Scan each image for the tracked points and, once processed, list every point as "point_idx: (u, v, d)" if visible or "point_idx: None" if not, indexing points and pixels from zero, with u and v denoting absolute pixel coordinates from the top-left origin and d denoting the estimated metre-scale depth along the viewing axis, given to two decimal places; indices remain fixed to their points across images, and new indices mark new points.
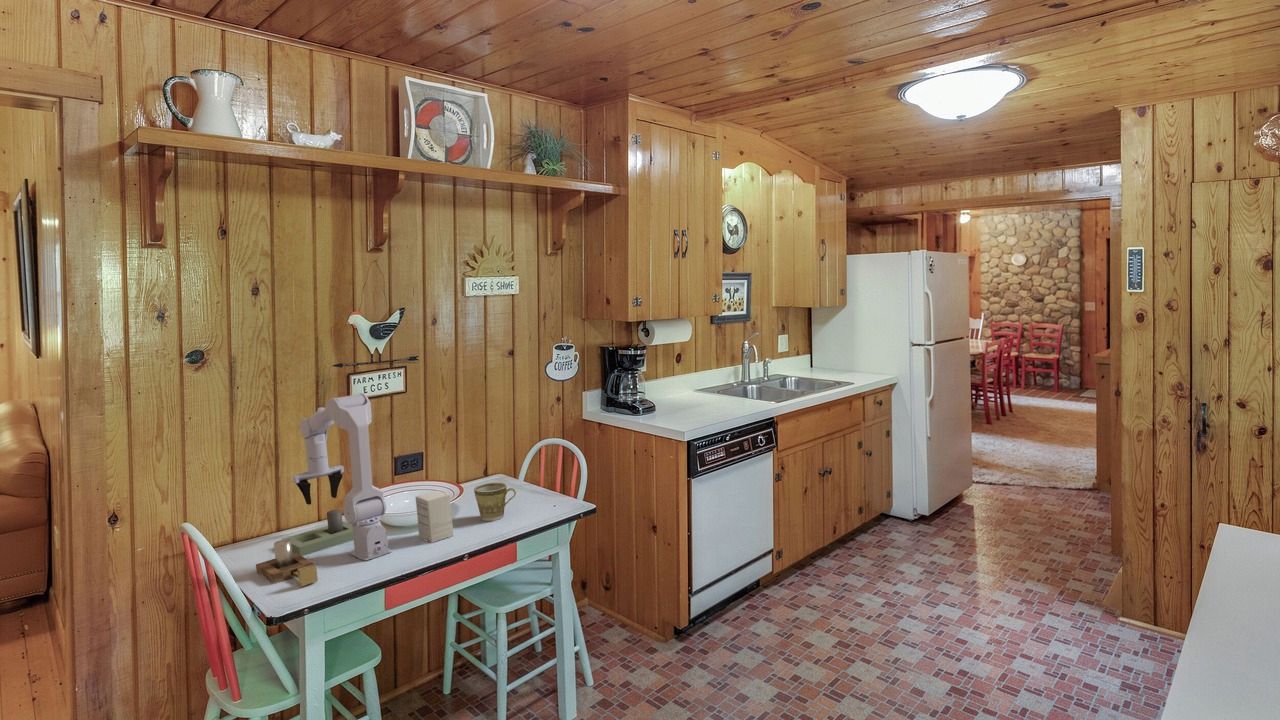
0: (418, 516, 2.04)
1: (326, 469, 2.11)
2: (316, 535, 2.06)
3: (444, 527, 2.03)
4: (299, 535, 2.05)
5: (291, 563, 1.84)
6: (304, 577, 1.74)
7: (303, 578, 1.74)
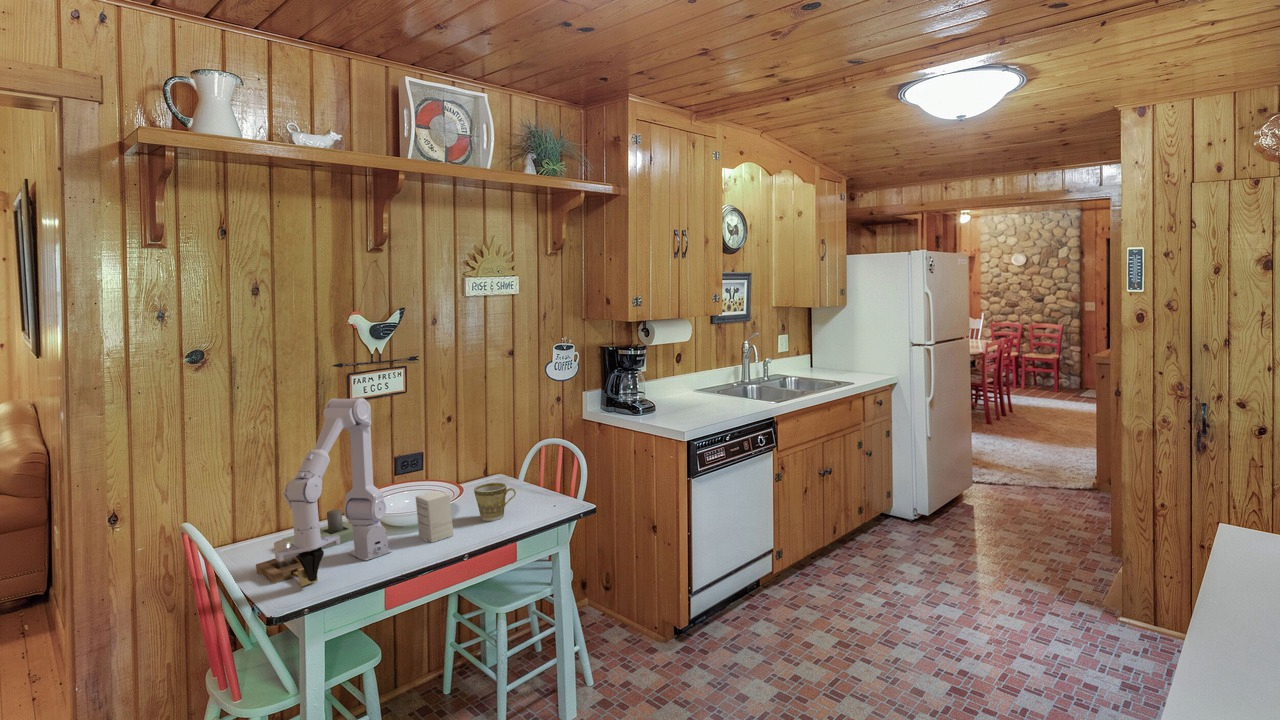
0: (418, 516, 2.04)
1: (318, 542, 1.72)
2: None
3: (444, 527, 2.03)
4: None
5: (291, 563, 1.84)
6: (304, 577, 1.74)
7: (303, 578, 1.74)
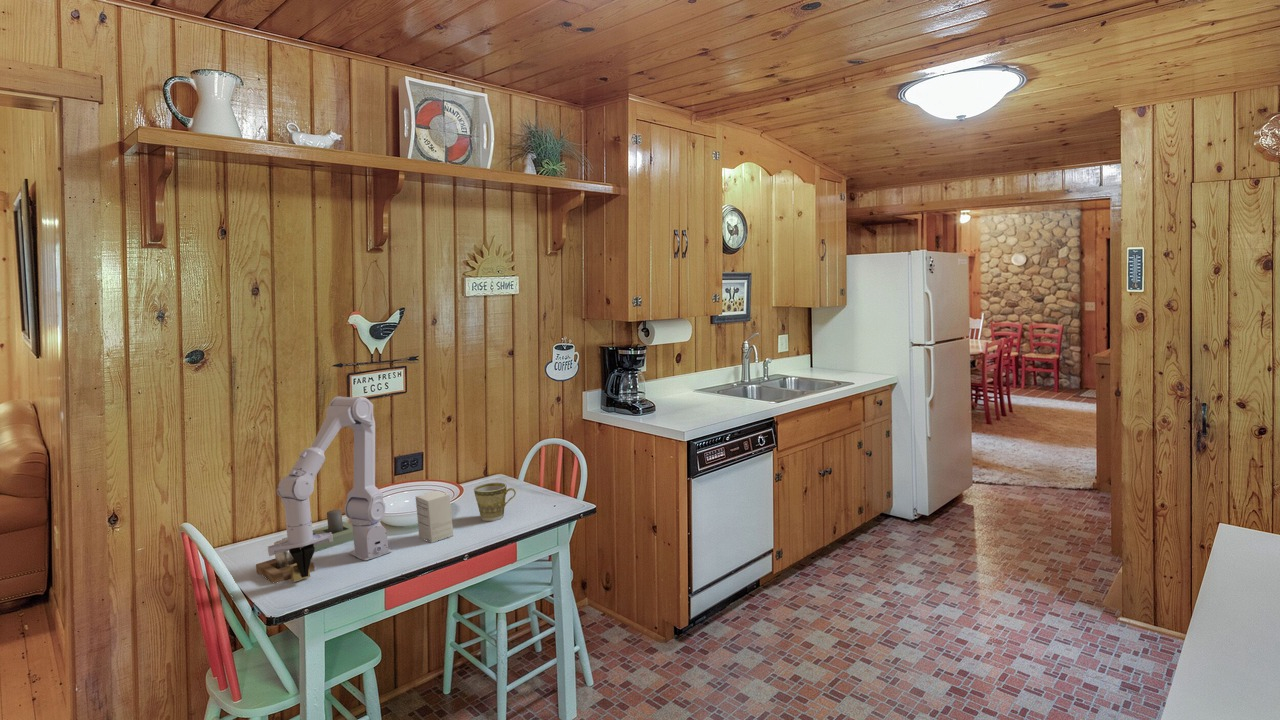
0: (418, 516, 2.04)
1: (308, 539, 1.74)
2: None
3: (444, 527, 2.03)
4: None
5: (291, 563, 1.84)
6: (296, 573, 1.77)
7: (295, 574, 1.77)
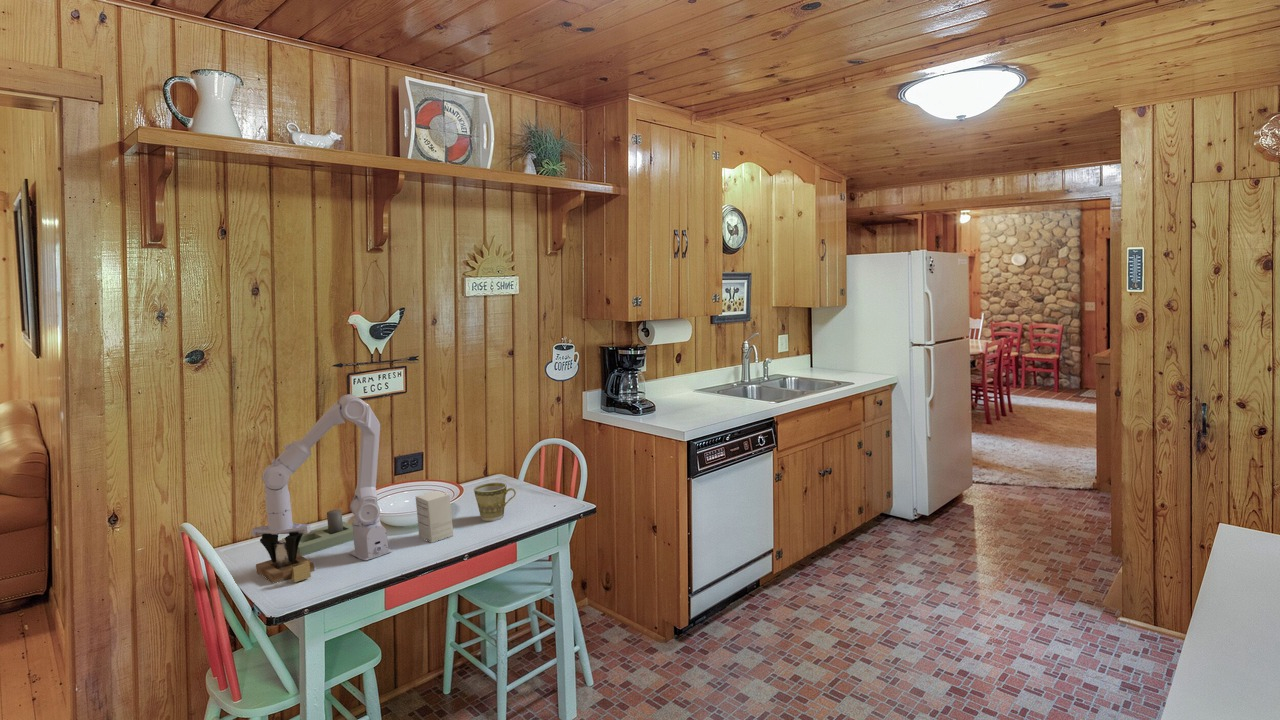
0: (418, 516, 2.04)
1: (281, 527, 1.81)
2: (316, 535, 2.06)
3: (444, 527, 2.03)
4: None
5: (291, 563, 1.84)
6: (297, 573, 1.76)
7: (296, 574, 1.76)
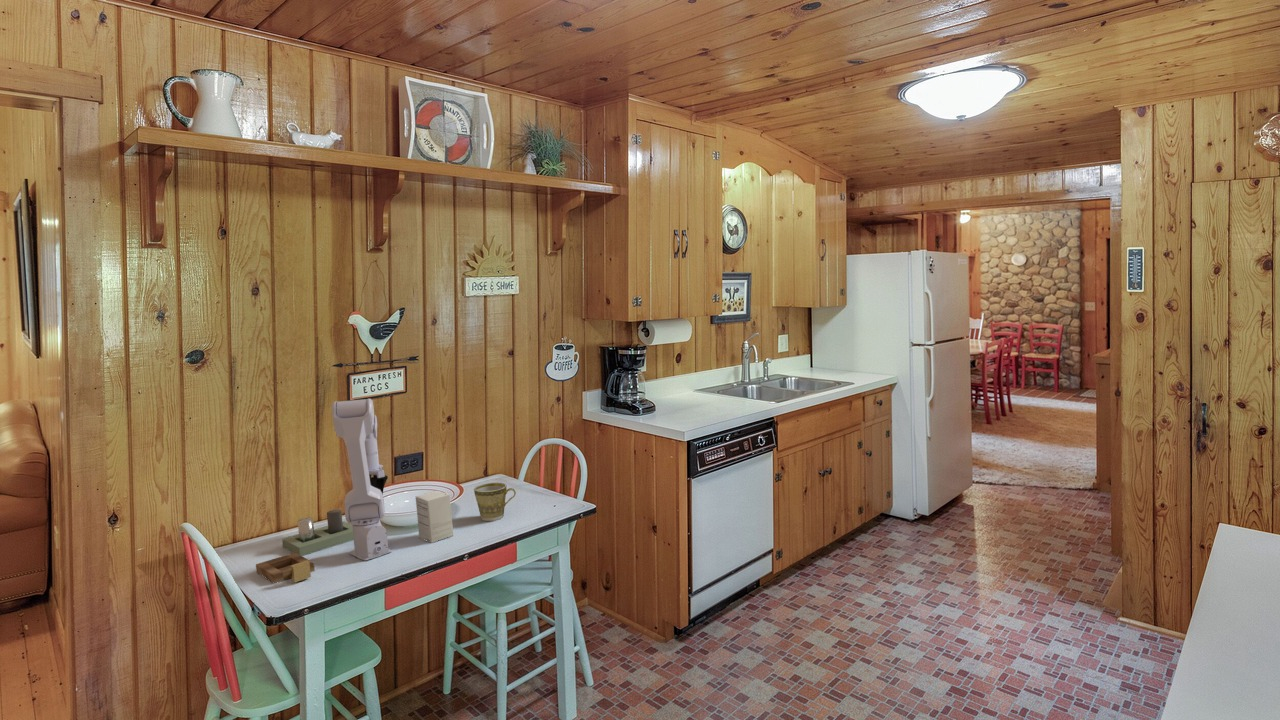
0: (418, 516, 2.04)
1: None
2: (316, 535, 2.06)
3: (444, 527, 2.03)
4: None
5: (309, 540, 2.01)
6: (297, 573, 1.76)
7: (296, 574, 1.76)
